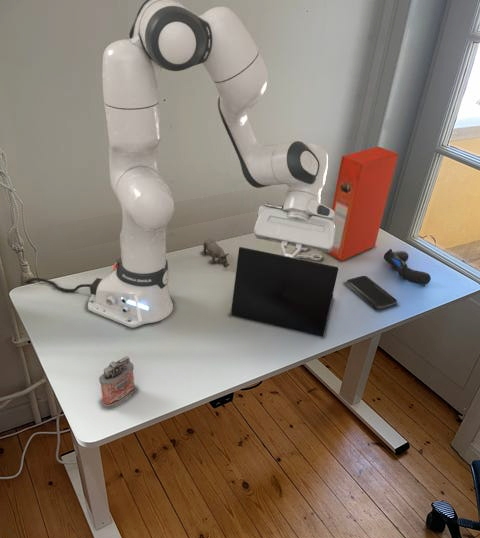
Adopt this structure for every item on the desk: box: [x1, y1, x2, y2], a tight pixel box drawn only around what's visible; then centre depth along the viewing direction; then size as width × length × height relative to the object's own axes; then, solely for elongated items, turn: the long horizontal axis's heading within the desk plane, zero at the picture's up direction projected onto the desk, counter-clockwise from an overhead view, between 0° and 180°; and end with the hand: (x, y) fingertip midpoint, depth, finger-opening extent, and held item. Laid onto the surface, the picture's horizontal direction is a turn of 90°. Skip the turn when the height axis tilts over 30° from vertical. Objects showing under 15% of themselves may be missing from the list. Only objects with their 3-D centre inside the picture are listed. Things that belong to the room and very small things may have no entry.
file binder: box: [325, 146, 399, 262], centre depth 160 cm, size 8×17×32 cm, turn 131°
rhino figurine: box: [202, 237, 230, 268], centre depth 155 cm, size 4×14×6 cm, turn 33°
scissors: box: [291, 248, 323, 261], centre depth 163 cm, size 11×1×20 cm
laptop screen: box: [230, 246, 340, 334], centre depth 128 cm, size 18×25×1 cm
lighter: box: [98, 355, 136, 409], centre depth 107 cm, size 8×3×10 cm, turn 138°
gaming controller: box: [383, 248, 432, 286], centre depth 158 cm, size 17×6×10 cm
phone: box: [345, 275, 398, 311], centre depth 149 cm, size 8×1×15 cm
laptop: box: [231, 295, 334, 337], centre depth 140 cm, size 18×25×2 cm
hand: (287, 261), depth 126 cm, fingers closed, pressing on laptop screen
